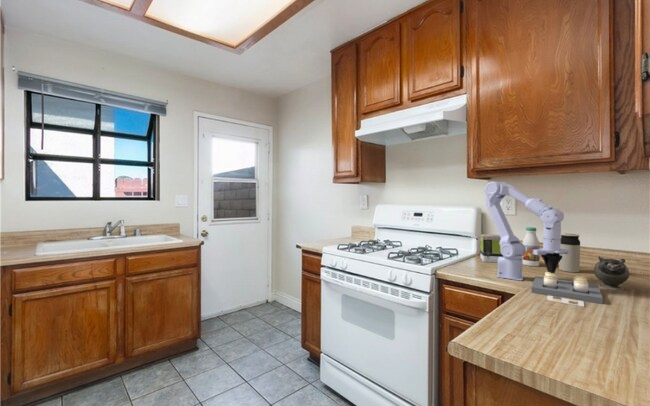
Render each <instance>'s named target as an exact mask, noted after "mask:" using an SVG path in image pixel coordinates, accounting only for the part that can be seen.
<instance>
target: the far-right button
mask: <svg viewBox="0 0 650 406" xmlns="http://www.w3.org/2000/svg"><path fill="white" fill-rule="evenodd" d="M572 280H573V284H574V281H575V280H583V281H587V282H588V278H587V276H585V275H581V274H574V275H573V279H572Z"/></svg>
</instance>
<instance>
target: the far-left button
mask: <svg viewBox="0 0 650 406" xmlns="http://www.w3.org/2000/svg"><path fill="white" fill-rule="evenodd" d="M544 276H552V277H556V279H558V272H555V273H550V272H548V271H545V272H544Z"/></svg>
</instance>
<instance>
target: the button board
mask: <svg viewBox="0 0 650 406" xmlns="http://www.w3.org/2000/svg"><path fill="white" fill-rule="evenodd" d="M530 289H531V291H530V292H531V293H533V294H538V295H545V296H548V295H549V296H555V297H561V298H567V299H573V300H579V301H584V302H587V303H588V302H589V303H593V304H594V303H595V304H601V305H603V301H604V300H603V299H604V298H603V295H602V292H601V290H600V287H599V285H598V284H594V283H588V292H579V291H575V290H574V284H573V281H572V280H564V279H558V278H557V287H555V288H552V287H546V286H544V276H535V278H534V280H533V282H532V285H531V288H530Z"/></svg>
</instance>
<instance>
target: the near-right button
mask: <svg viewBox="0 0 650 406" xmlns="http://www.w3.org/2000/svg"><path fill="white" fill-rule="evenodd" d="M588 284H589V282H588V280H587V281H583V280H575V281H574V290H575V291H579V292H588Z"/></svg>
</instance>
